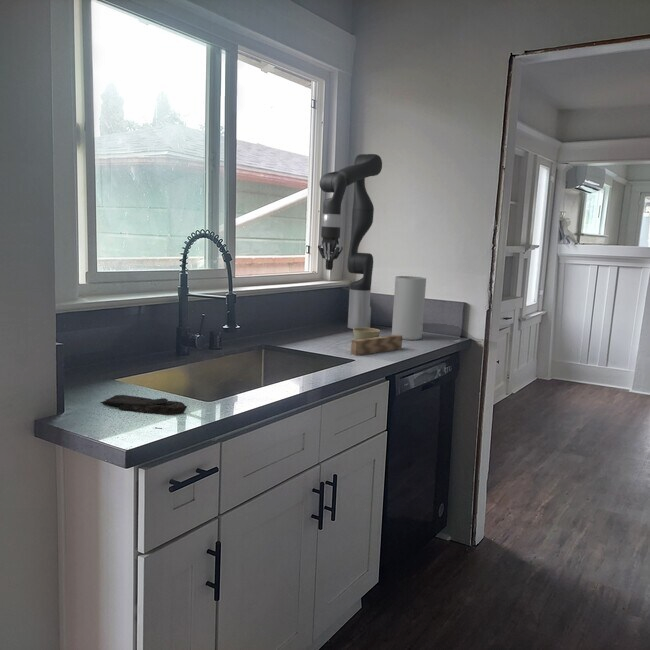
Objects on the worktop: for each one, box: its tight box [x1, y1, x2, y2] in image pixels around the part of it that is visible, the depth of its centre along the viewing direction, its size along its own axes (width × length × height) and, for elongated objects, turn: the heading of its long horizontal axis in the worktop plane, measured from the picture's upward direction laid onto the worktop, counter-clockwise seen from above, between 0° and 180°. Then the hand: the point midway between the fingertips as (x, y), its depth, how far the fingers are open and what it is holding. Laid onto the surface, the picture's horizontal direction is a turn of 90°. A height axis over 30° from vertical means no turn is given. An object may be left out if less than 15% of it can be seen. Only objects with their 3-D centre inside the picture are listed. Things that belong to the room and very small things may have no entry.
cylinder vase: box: [391, 275, 427, 341], centre depth 257 cm, size 12×12×25 cm
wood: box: [100, 394, 188, 416], centre depth 148 cm, size 22×8×3 cm, turn 72°
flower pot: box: [352, 327, 381, 340], centre depth 231 cm, size 10×10×7 cm
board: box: [350, 334, 403, 356], centre depth 227 cm, size 24×2×5 cm, turn 131°
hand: (328, 269), depth 249 cm, fingers closed
